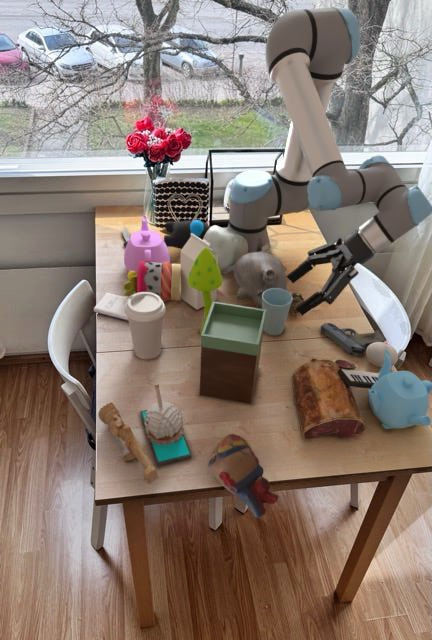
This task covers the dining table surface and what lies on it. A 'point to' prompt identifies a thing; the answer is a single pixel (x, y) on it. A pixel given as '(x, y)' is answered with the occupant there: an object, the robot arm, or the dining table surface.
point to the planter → (226, 246)
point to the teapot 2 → (399, 397)
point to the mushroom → (205, 278)
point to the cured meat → (326, 400)
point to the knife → (126, 236)
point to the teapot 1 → (145, 248)
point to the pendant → (295, 303)
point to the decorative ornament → (163, 422)
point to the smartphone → (169, 449)
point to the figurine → (127, 440)
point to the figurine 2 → (381, 353)
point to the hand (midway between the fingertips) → (293, 295)
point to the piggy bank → (258, 275)
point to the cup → (276, 309)
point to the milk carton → (187, 260)
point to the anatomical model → (241, 473)
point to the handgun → (352, 338)
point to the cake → (155, 280)
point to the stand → (228, 374)
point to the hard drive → (112, 306)
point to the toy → (184, 232)
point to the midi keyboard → (358, 378)
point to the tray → (233, 328)
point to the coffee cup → (145, 323)
